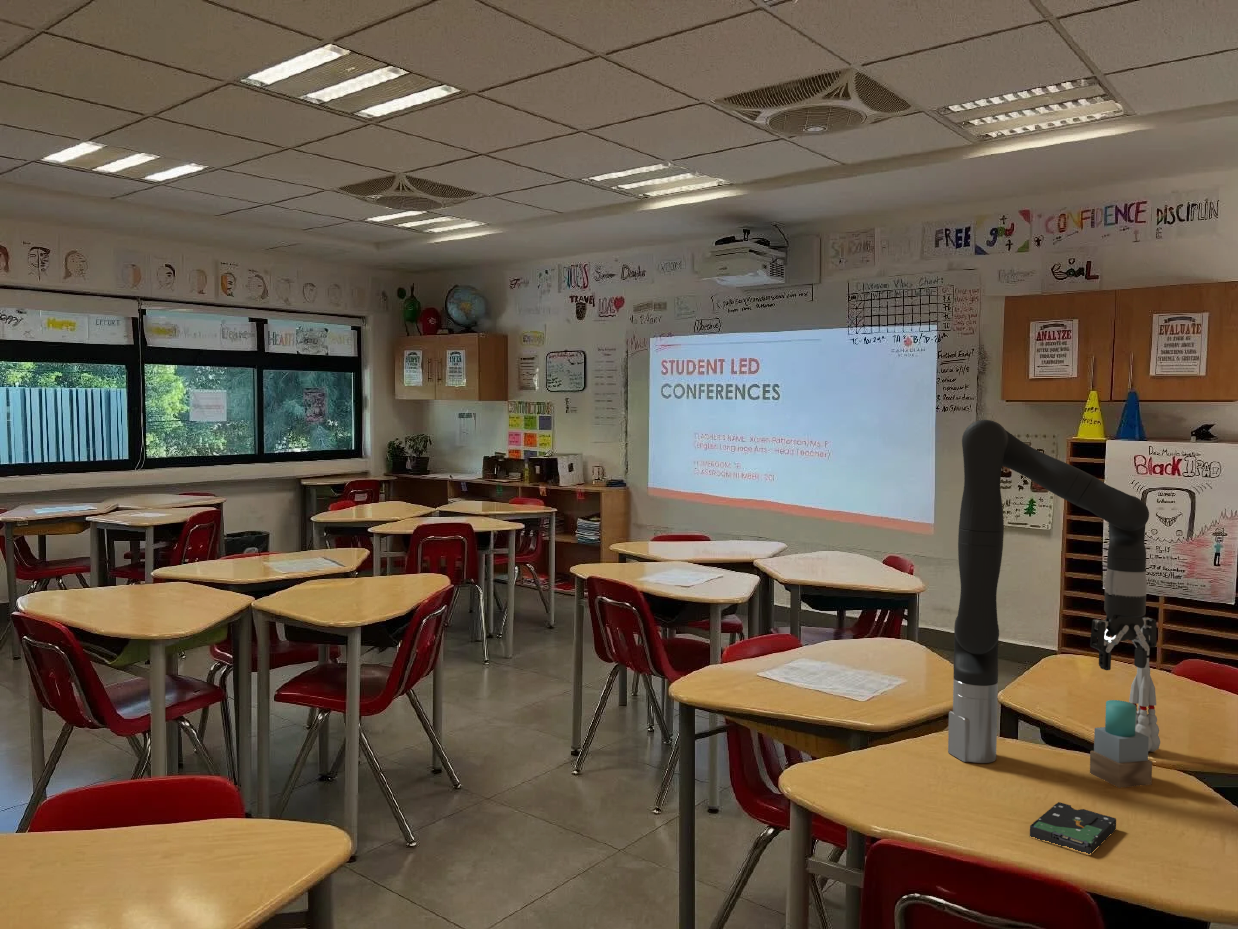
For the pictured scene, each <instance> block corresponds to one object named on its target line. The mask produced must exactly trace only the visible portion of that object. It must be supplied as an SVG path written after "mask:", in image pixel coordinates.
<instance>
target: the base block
mask: <svg viewBox="0 0 1238 929" xmlns="http://www.w3.org/2000/svg"><path fill="white" fill-rule="evenodd" d="M1089 753H1090V754H1089V757H1090V758H1089V760H1090V761H1089V774H1090V773H1091V774H1090V775H1092V776H1094V777H1096V778H1099V779H1101V780H1102V779H1103V780H1102V781H1104V780H1105V782H1106V783H1108V784H1111V785H1112V786H1114V785H1115V787H1116V786H1117V787H1116V788H1119V789H1122V788H1123V787H1124V788H1131V787H1132V786H1133V787H1140V785H1143V786H1150V785H1152V780H1153V779H1152V778H1153V761H1151V760H1150V759H1148V761H1138V762H1126V763H1118V762H1116V761H1113V760H1111V759H1109V758H1107V757H1105V756H1103V755H1101V754H1099V753H1097V752H1095V751H1094V750H1090V752H1089ZM1121 787H1122V788H1121ZM1133 787H1132V788H1133Z"/></svg>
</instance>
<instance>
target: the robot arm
mask: <svg viewBox="0 0 1238 929" xmlns="http://www.w3.org/2000/svg"><path fill="white" fill-rule="evenodd" d="M961 446H962V457H963V472H964V474H963V475H964V476H963V478H964V479H963V480H964V482H963V490H962V498H961V503H960V510H959V522H958V535H957V536H958V539H957V548H958V549H957V552H958V553H957V554H958V555H957V556H958V557H957V558H958V571H959V579H960V596H959V604H958V611H957V616H956V617H955V621H954V630H953V631H954V635H953V636H954V637H953V638H954V640H953V683H952V685H953V686H952V687H953V689H952V710H950V711H949V712H948V730H947V731H948V735H947V736H948V737H947V738H948V740H947V743H948V744H947V745H948V746H947V753H948V754H950V755H952V756H953V757H956V759H959V760H960V761H962V762H963V763H974V764H975V763H977V764H989V763H993V762H995V761H996V759H997V745H998V744H997V742H998V741H997V738H998V737H997V736H998V735H997V733H998V693H999V691H998V690H999V689H998V687H999V686H998V684H999V639H1000V628H999V621H998V610H997V609H998V606H997V605H998V603H997V593H998V592H997V591H998V585H999V578H1000V572H1001V565H1002V560H1003V559H1002V558H1003V549H1004V535H1005V533H1004V532H1005V531H1004V530H1005V528H1004V526H1005V521H1004V506H1003V500H1002V494H1001V493H1002V492H1001V479H1002V472H1003V470H1002V469H1003V467H1004V468H1007V469H1009V470H1011V471H1014V472H1016V473H1018V474H1020V475H1022V476H1023V477H1025V478H1027V479H1029V480H1030V481H1032V482H1034V483H1035V484H1037V485H1038V486H1041V487H1042V488H1043V489H1046V490H1047V491H1049V493H1052V494H1054V495H1056V496H1057V497H1059V498H1060V499H1062V500H1065V501H1067V502H1068V503H1071V504H1073V505H1075V506H1077V507H1078V508H1081V509H1083V510H1086V511H1089V512H1090V513H1092V514H1094V515H1095V516H1096V517H1099V518H1101V519H1102V520H1103V521H1106V522H1107V523H1108V540H1109V542H1108V543H1109V544H1108V547H1107V549H1108V550H1107V557H1106V558H1107V560H1106V561H1107V562H1106V564H1107V565H1106V574H1105V579H1104V601H1103V602H1104V603H1103V606H1104V607H1103V610H1104V612H1105V614H1106V617H1105V619H1104V620H1101V619H1095V618H1093V619H1092V620H1091V630H1090V640H1089V646H1090V648H1092V649H1096V650H1098V666H1099V668H1100V669H1102V670H1104V671H1111V669H1112V668H1111V667H1112V652H1111V651H1112V649H1114V647H1115V646H1116V645H1118V644H1119V643H1120V642H1125V641H1127V640H1128V641H1131V642H1132V644H1133V646H1134V647H1135V649H1134V662H1133V663H1134V664H1133V665H1134V666H1135V667H1136V668H1137V667H1138V668H1145V665H1146V663H1147V651H1148V650H1149V651H1150V649H1151V648H1156V647H1157V642H1158V641H1157V619H1155V618H1151V617H1149V616H1148V617H1146V611H1147V610H1146V609H1147V608H1146V607H1147V606H1146V605H1147V602H1146V601H1147V586H1148V585H1147V582H1148V581H1147V572H1146V571H1147V548H1146V543H1145V541H1146V540H1145V539H1146V538H1145V537H1146V524H1147V523H1148V521H1149V519H1150V512H1149V508H1148V506H1147V504H1146V503H1145V502H1144V501H1142V499H1140V498H1138V497H1137V496H1135V495H1130V494H1128V493H1126V492H1123V491H1122V490H1119V489H1117V488H1115V487H1112V486H1110V485H1108V484H1107V483H1105V482H1104V481H1103V480H1101V479H1099V478H1098V477H1096V476H1094V475H1092V474H1090V473H1088V472H1086V471H1084V470H1081V469H1080V468H1077V467H1075V466H1073V465H1071V464H1069V463H1067V462H1064V461H1062V460H1060V459H1057V458H1056V457H1053V456H1050V455H1048V454H1047V453H1044V452H1043V451H1040V450H1038V449H1036V448H1034V447H1032V446H1030V445H1029V444H1026V443H1025V442H1023V441H1022V440H1020V439H1019V438H1017V437H1016V436H1015V435H1014V434H1012V433H1010V432H1009V431H1007V430H1006V429H1005V427H1003V425H1002V424H1000V423H998V422H997V421H995V420H990V419H980V420H976V421H973V422H972V423H970V424H969V425H968V426H967V427H966V428H965V430H964V431H963V434H962V437H961ZM1141 629H1142V632H1141ZM1149 636H1150V640H1149Z"/></svg>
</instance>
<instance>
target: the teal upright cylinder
mask: <svg viewBox="0 0 1238 929" xmlns="http://www.w3.org/2000/svg"><path fill="white" fill-rule="evenodd" d="M1104 717H1105V724H1104V727H1105V731H1106V732H1107V733H1109V734H1112V735H1116V736H1121V737H1133V736H1135V724H1136V705H1134V704H1132V703H1130V702H1129V701H1125V700H1119V699H1118V700H1117V699H1108V700H1107V701H1105V716H1104Z"/></svg>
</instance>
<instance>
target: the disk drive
mask: <svg viewBox="0 0 1238 929" xmlns="http://www.w3.org/2000/svg"><path fill="white" fill-rule="evenodd" d="M1115 829H1116V830H1117V818H1116V817H1112V816H1108V815H1105V814H1101V813H1098V812H1095V811H1093V810H1092V811H1091V810H1088V809H1085V808H1081V809H1075V808H1074V807H1072V805H1070V804H1067V803H1064V802H1060V801H1058V802H1057V803H1055V804H1054V805H1052V807H1050V808H1049V809H1048V810H1047V811H1046V812H1045V813H1043V814H1042V815H1041V816H1039V817H1038V819H1036V820H1035V821H1033V823H1031V824H1030V825H1029V837H1030V836H1031V837H1035V838H1037V839H1040V840H1045V841H1049V842H1051V843H1055V844H1058V845H1061V846H1067V847H1069V848H1073V849H1075V850H1078V851H1081V852H1086V853H1088V854H1090V853H1092V852H1093V851H1094V850H1095V849H1096V848H1097V847H1098V846H1100V845H1101V843H1102V842H1103V841H1104V840H1106V838H1107V837H1108V836H1109V835H1110V834H1112V833H1113V832H1114V833H1115V831H1116V830H1115ZM1114 830H1115V831H1114ZM1114 833H1113V834H1114ZM1113 834H1112V835H1113ZM1110 836H1111V835H1110ZM1110 836H1109V837H1110ZM1109 837H1108V838H1109ZM1108 838H1107V839H1108ZM1106 841H1107V840H1106ZM1101 846H1102V845H1101ZM1101 846H1100V847H1101Z"/></svg>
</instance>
